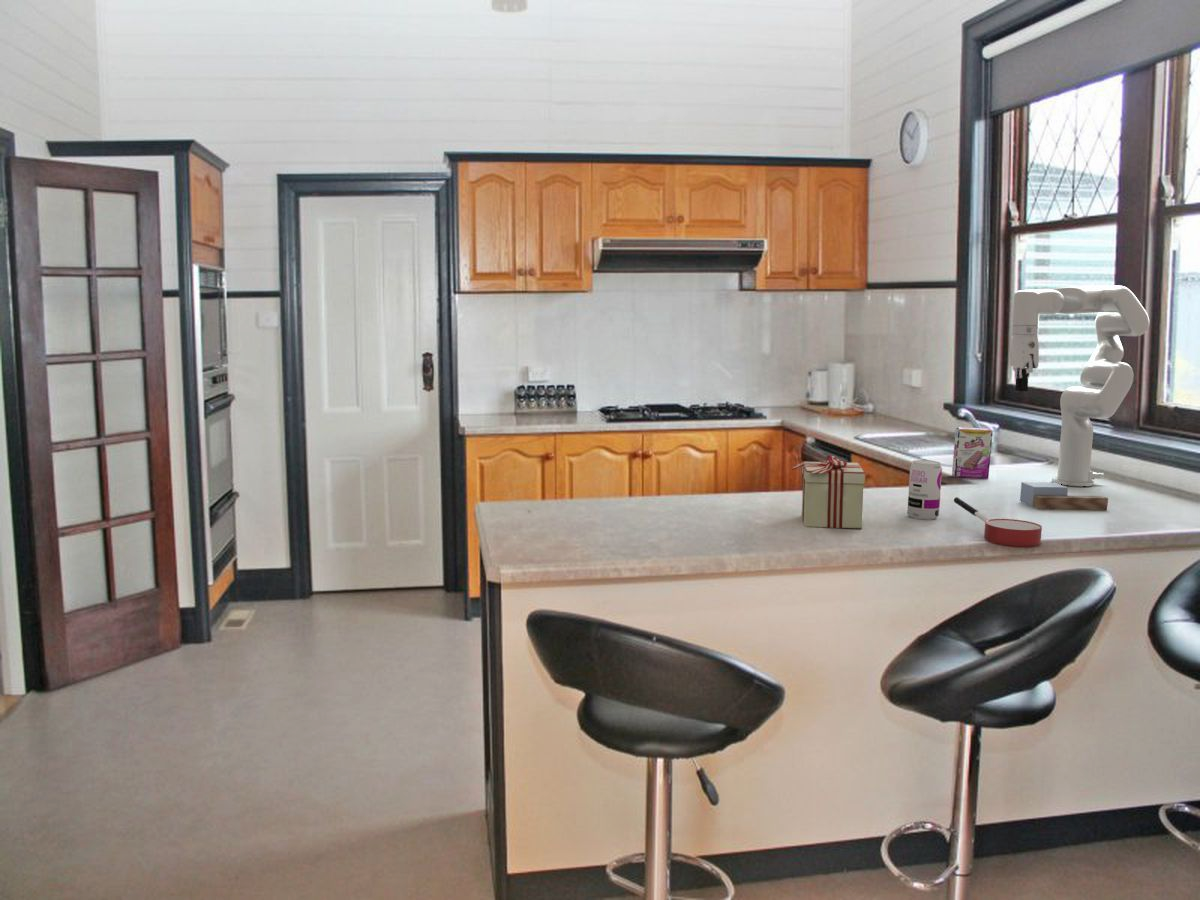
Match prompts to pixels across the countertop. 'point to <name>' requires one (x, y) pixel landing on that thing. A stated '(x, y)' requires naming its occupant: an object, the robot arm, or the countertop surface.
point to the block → (1040, 490)
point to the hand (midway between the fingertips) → (1021, 390)
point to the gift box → (832, 494)
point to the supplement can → (924, 489)
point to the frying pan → (1007, 529)
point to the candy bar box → (972, 453)
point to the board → (1070, 502)
